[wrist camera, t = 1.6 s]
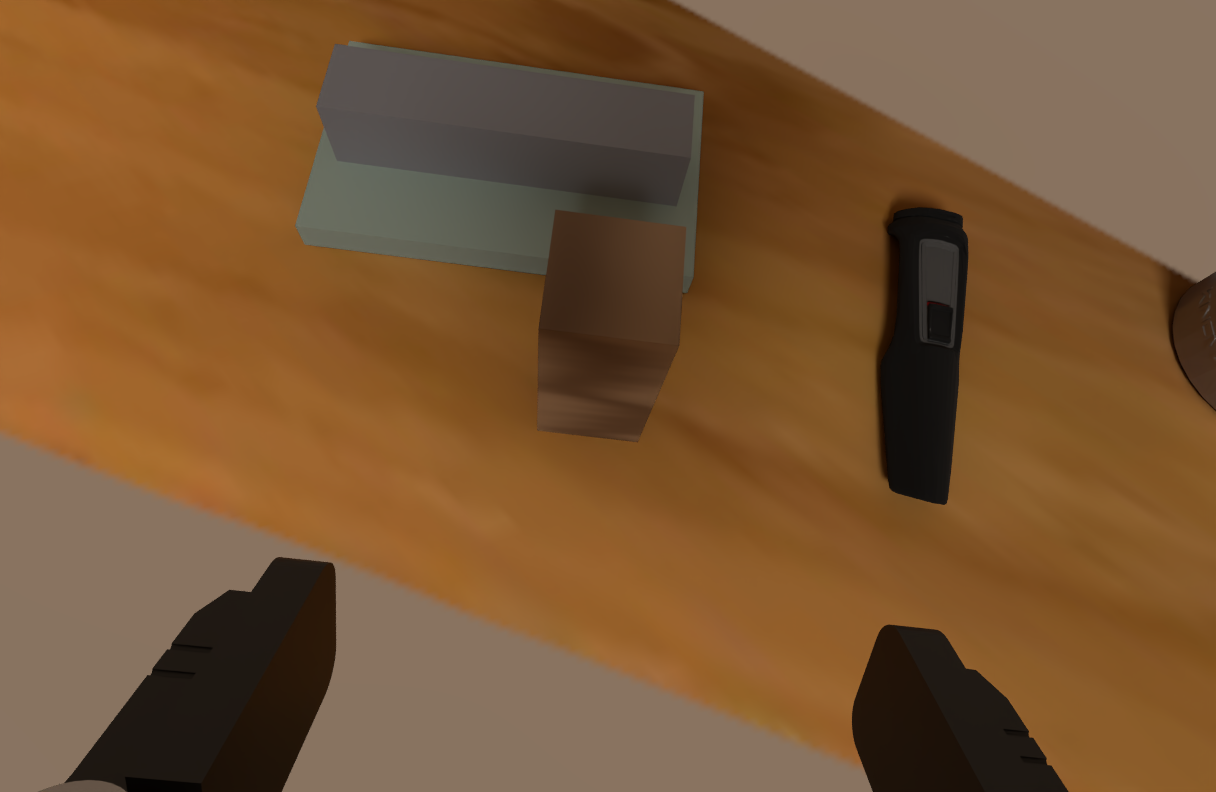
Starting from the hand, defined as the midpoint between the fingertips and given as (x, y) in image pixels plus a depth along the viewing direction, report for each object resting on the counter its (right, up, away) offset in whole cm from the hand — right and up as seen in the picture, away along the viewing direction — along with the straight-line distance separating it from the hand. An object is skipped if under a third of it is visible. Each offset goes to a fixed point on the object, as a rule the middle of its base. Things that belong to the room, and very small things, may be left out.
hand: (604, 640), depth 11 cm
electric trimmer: (+15, +6, +25) cm, 29 cm away
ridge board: (-5, +15, +26) cm, 30 cm away
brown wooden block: (-1, +4, +22) cm, 23 cm away
